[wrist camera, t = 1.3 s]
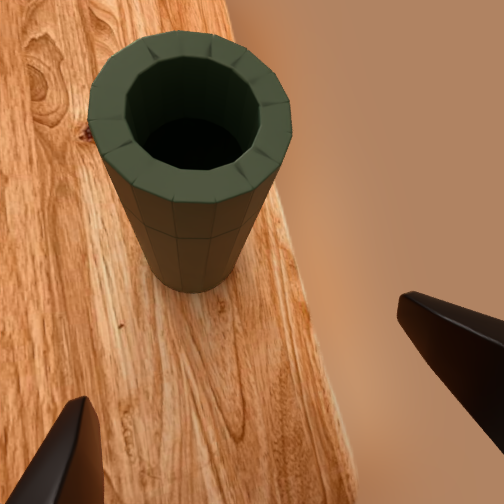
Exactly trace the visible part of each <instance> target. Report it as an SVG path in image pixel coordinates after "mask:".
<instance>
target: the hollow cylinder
mask: <svg viewBox="0 0 504 504" xmlns="http://www.w3.org/2000/svg"><path fill="white" fill-rule="evenodd" d="M289 102H290V101H289V99H288V97H287V95H286V93H285V91H284V89H283V87H282V85H281V84H280V82H279V80H278V78H277V76H276V74H275V73H274V72H272V70H271V69H270V68H268V67H267V66H266V65H265V64H264V63H263V62H261V61H260V60H259V59H258V58H257V57H256V56H255V55H254V54H252V53H251V52H250V51H249V50H247V48H245V47H243V46H241V45H238V44H236V43H234V42H231V41H229V40H227V39H224V38H222V37H220V36H218V35H215V34H214V35H213V34H208V33H199V32H190V31H180V30H178V31H170V32H165V33H160V34H156V35H151V36H146V37H142V38H141V39H137V40H136V41H134V42H133V43H131V44H130V45H128V46H126V47H125V48H123V49H122V50H120V51H118V52H117V53H115V54H114V55H112V56H111V58H109V59H108V60H107V62H106V63H105V65H104V66H103V68H102V69H101V71H100V73H99V74H98V76H97V77H96V79H95V80H94V82H93V83H92V85H91V89H90V98H89V108H88V118H87V121H88V126H89V128H90V131H91V133H92V136H93V138H94V141H95V143H96V146H97V148H98V151H99V153H100V156H101V158H102V160H103V162H104V165H105V167H106V169H107V171H108V174H109V176H110V178H111V180H112V183H113V185H114V187H115V189H116V192H117V194H118V196H119V198H120V201H121V203H122V205H123V208H124V210H125V212H126V214H127V217H128V219H129V221H130V223H131V226H132V228H133V230H134V232H135V235H136V237H137V239H138V241H139V244H140V246H141V248H142V250H143V253H144V255H145V257H146V259H147V262H148V264H149V266H150V268H151V271H152V272H153V273H154V274H155V276H156V277H157V278H158V279H159V280H160V281H161V282H162V283H163V284H164V285H166V286H168V287H169V288H171V289H173V290H176V291H179V292H184V293H200V292H205V291H207V290H210V289H212V288H214V287H216V286H217V285H219V284H220V283H222V282H223V281H224V280H225V279H226V278H227V276H228V275H229V274H230V273H231V271H232V269H233V267H234V265H235V263H236V261H237V259H238V257H239V254H240V252H241V250H242V248H243V246H244V244H245V242H246V239H247V237H248V235H249V233H250V231H251V229H252V227H253V224H254V222H255V220H256V218H257V216H258V214H259V212H260V209H261V207H262V205H263V203H264V201H265V199H266V197H267V194H268V192H269V190H270V188H271V186H272V184H273V181H274V179H275V177H276V175H277V173H278V171H279V169H280V166H281V164H282V162H283V159H284V157H285V154H286V151H287V149H288V146H289V144H290V141H291V138H292V121H291V110H290V103H289Z"/></svg>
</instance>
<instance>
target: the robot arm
mask: <svg viewBox="0 0 504 504" xmlns="http://www.w3.org/2000/svg"><path fill="white" fill-rule="evenodd" d="M397 319H398V322H399V324H400V325H401V327H402V328H403V329H404V331H405V332H406V334H407V335H408V337H409V338H410V340H411V341H412V343H413V344H414V345H415V347H416V348H417V350H418V351H419V353H420V354H421V356H422V357H423V358H424V360H425V361H426V362H427V364H428V365H429V366H430V368H431V369H432V370H433V371H434V372H435V374H436V375H437V376H438V377H439V378H440V380H441V381H442V382H443V383H444V384H445V386H447V388H448V389H449V390H450V391H451V393H452V394H453V395H454V396H455V397H456V398H457V400H458V401H459V402H460V403H461V404H462V406H463V407H464V408H465V409H466V410H467V412H468V413H469V414H470V415H471V416H472V418H473V419H474V420H475V421H476V422H477V423H478V425H479V426H480V427H481V428H482V429H483V431H484V432H485V433H486V434H487V435H488V436H489V438H490V439H491V440H492V441H493V442H494V443H495V445H496V446H497V447H498V448H499V450H501V452H502V453H503V454H504V321H503V320H500V319H497V318H494V317H491V316H488V315H484V314H482V313H479V312H476V311H473V310H470V309H466V308H464V307H461V306H458V305H455V304H452V303H449V302H446V301H443V300H439V299H436V298H434V297H430V296H428V295H425V294H422V293H419V292H415V291H410V292H407V293H404V294H402V295H401V296H400V297H399V303H398V309H397ZM5 504H104V475H103V462H102V449H101V436H100V424H99V419H98V416H97V414H96V412H95V410H94V408H93V406H92V404H91V402H90V400H89V398H88V397H87V396H81V397H78V398H75V399H72V400H70V401H68V402H67V404H66V405H65V407H64V408H63V410H62V412H61V413H60V415H59V417H58V418H57V420H56V421H55V423H54V425H53V426H52V428H51V430H50V431H49V433H48V434H47V436H46V438H45V439H44V441H43V443H42V444H41V446H40V448H39V449H38V451H37V452H36V454H35V456H34V457H33V459H32V461H31V462H30V464H29V465H28V467H27V469H26V470H25V472H24V474H23V475H22V477H21V479H20V480H19V482H18V483H17V485H16V487H15V488H14V490H13V492H12V493H11V495H10V496H9V498H8V500H7V501H6V503H5Z"/></svg>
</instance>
